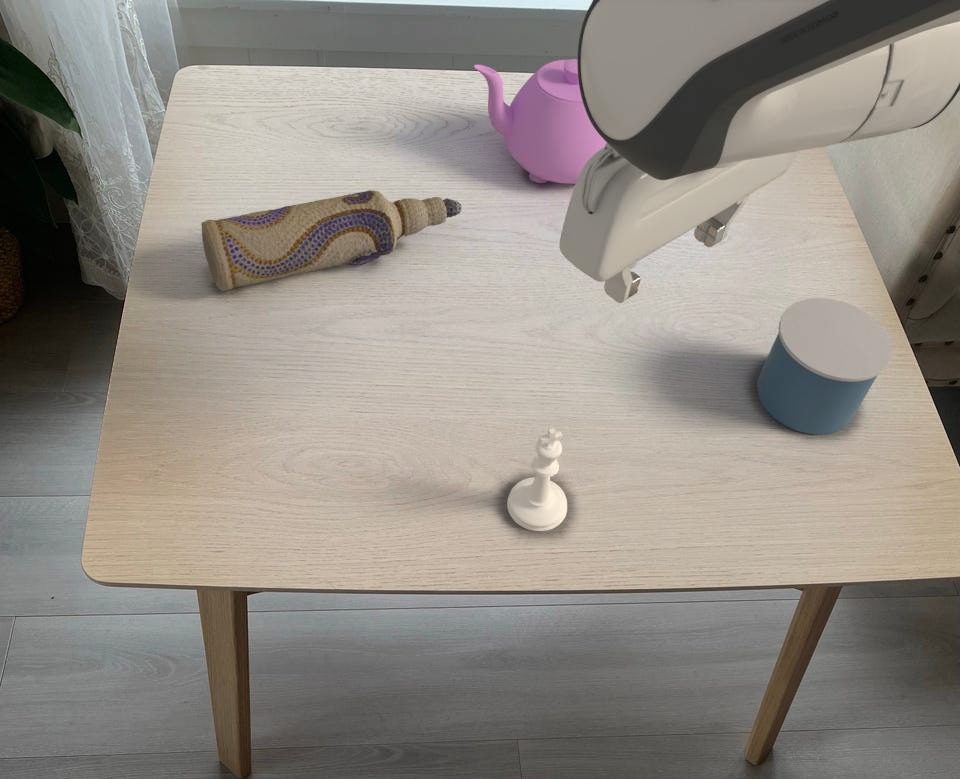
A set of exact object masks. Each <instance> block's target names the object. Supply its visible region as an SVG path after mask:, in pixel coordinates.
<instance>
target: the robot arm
mask: <svg viewBox="0 0 960 779" xmlns="http://www.w3.org/2000/svg"><path fill="white" fill-rule="evenodd" d="M576 59H577V65H578V80H579V87H580V92H581V97H582V101H583V104H584V107H585V110H586V113H587V115H588V117H589V119H590V121H591V123H592V125H593V127H594V128H595V130H596V131H597V132H598V133H599V135H600V136H601V137H602V138H603V139H604V140H605V141H606V142H607V143H606V144H605V147H604V148H602V149H601V150H599V151H598V152H596V153H595V154H594V155H593V156H592V157H591V158H590V159H589V160H588V161H587V162H586V164H585V165H584V167H583V168H582V170H581V172H580V174H579V176H578V179H577V181H576V183H574V187H573V190H572V193H571V197H570V200H569V202H568V206H567V210H566V214H565V217H564V221H563V224H562V228H561V233H560V237H559V244H558V245H559V250H560V253H561V254H562V255H563V257H564V258H565V259H566V260H567V261H568V262H569V263H570V264H571V265H573V266H574V267H575V268H576V269H577V270H579V271H580V272H581V273H583V274H585V275H586V276H587V277H589V278H590V279H592V280H594V281H596V282H599V283H602V282H604V285H603V289H604V290H603V291H604V292H605V294H606V295H607V296H608V297H610V298H611V299H613V301H615V302H616V303H618V304H622V303H624V302H625V301H627V300H628V299H630V298H631V297H632V296H635V295H636V294H638V291H639V289H638V288H639V286H640V283H641V280H642V277H641V276H640V275H639V274H637V273H636V272H634V271H631V269H633V268H635V267H636V266H637V264H638V262H639V261H641V260H643V259H644V258H646V257H648V256H649V255H651V254H653V253H655V252H656V251H658V250H659V249H662V248H663V247H665V246H666V245H668V244H670V243H671V242H673V241H675V240H676V239H678V238H680V237H682V236H683V235H685V234H686V233H688V232H689V231H691V230H693V229H694V232H693V235H694V239H696V241H698V242H699V243H703V245H704V246H705V247H706V248H712V247H714V246H716V245H718V244H719V243H720V242H722V241H724V240H725V239H726V237H727V234H728V231H729V229H730V226H731V224H732V222H733V221H734V220H735V218H736V217H737V216H738V214H739V213H740V211H741V210H742V208H743V207H744V205H745V204H746V203H747V202H748V200H749V198H750V195H751V194H753V193H755V192H757V191H758V190H760V189H761V188H763V187H765V186H767V185H769V184H770V183H771V182H774V181H775V180H777V179H779V178H780V177H782V176H784V174H785V173H786V172H787V171H788V170H789V169H790V168H791V166H792V165H793V164H794V163H795V161H796V160H797V159H798V157H799V155H800V153H801V151H808V150H814V149H818V148H819V149H820V148H825V147H830V146H833V145H839V144H844V143H851V142H856V141H862V140H863V141H864V140H867V139H873V138H877V137H883V136H888V135H893V134H897V133H901V132H904V131H907V130H912V129H917V128H920V127H923V126H925V125H927V124H929V123H930V122H932V121H933V120H935V119H936V118H937V117H938V116H940V115H941V114H942V112H944V111H945V110H946V108H948V106H949V105H950V104H951V103H952V102H953V101H954V99H955V98H956V97H957V95H958V93H959V92H960V0H592V1H591V3H590V5H589V7H588V9H587V11H586V14H585V16H584V19H583V22H582V25H581V29H580V32H579V38H578V46H577V58H576Z"/></svg>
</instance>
